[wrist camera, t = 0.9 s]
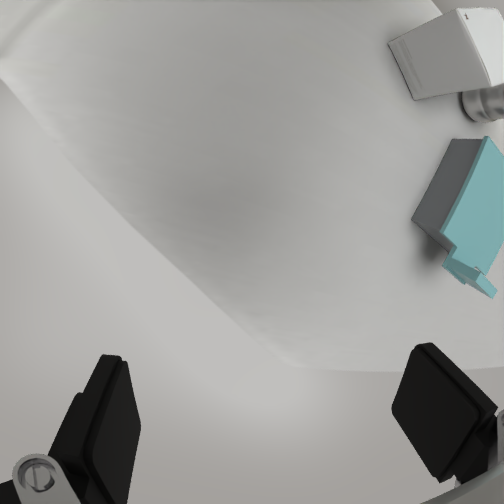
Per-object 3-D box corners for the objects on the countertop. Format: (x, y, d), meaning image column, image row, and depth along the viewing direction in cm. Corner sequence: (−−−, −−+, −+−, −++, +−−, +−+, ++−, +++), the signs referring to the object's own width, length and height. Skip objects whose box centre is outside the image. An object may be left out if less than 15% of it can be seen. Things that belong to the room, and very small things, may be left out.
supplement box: (413, 102, 35) (491, 88, 20) (385, 42, 32) (454, 5, 18) (454, 89, 34) (528, 77, 20) (430, 34, 32) (498, 6, 17)
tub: (452, 138, 36) (484, 139, 30) (489, 182, 39) (520, 189, 32) (411, 219, 39) (441, 230, 32) (453, 256, 42) (482, 271, 35)
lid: (480, 135, 30) (519, 137, 24) (517, 187, 33) (552, 195, 26) (423, 251, 34) (460, 270, 27) (468, 290, 36) (500, 310, 30)
